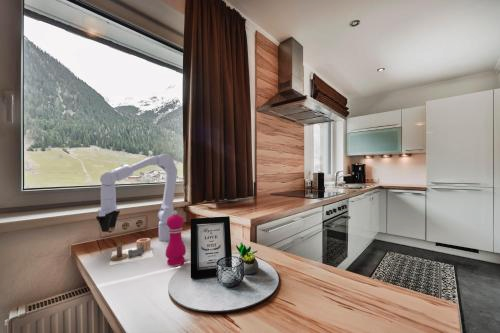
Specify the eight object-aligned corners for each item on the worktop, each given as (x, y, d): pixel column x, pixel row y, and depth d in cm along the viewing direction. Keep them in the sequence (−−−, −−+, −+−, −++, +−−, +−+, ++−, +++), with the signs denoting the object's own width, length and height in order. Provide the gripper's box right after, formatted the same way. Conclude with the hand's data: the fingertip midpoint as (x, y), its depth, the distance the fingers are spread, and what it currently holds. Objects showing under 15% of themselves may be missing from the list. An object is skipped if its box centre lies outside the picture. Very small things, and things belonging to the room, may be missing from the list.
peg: (128, 254, 91) (127, 241, 91) (127, 258, 86) (127, 246, 86) (111, 257, 88) (111, 244, 88) (110, 262, 83) (109, 249, 83)
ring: (149, 246, 100) (149, 237, 100) (150, 249, 95) (150, 240, 95) (136, 248, 97) (136, 239, 97) (136, 252, 93) (136, 242, 93)
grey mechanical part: (143, 251, 93) (143, 245, 93) (144, 255, 89) (144, 248, 89) (128, 254, 90) (128, 247, 90) (128, 258, 86) (128, 251, 86)
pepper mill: (179, 268, 78) (178, 212, 78) (161, 267, 79) (160, 212, 79) (189, 260, 85) (188, 209, 85) (172, 259, 86) (171, 209, 87)
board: (150, 246, 101) (150, 245, 101) (153, 258, 87) (153, 256, 87) (112, 253, 94) (112, 251, 94) (109, 267, 80) (109, 265, 80)
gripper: (105, 197, 103) (105, 226, 103) (90, 201, 89) (91, 234, 89) (121, 196, 105) (122, 224, 105) (109, 200, 91) (110, 233, 91)
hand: (109, 229), depth 97 cm, fingers open, 7 cm apart
